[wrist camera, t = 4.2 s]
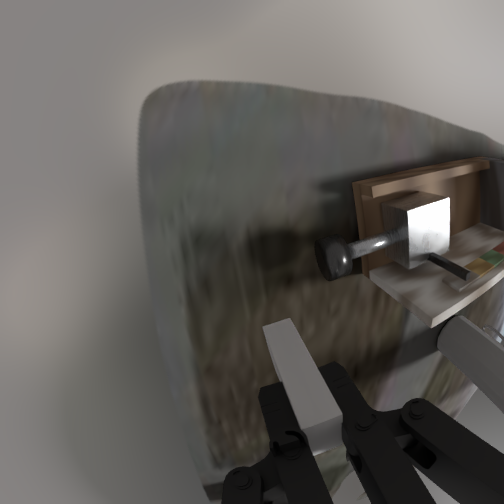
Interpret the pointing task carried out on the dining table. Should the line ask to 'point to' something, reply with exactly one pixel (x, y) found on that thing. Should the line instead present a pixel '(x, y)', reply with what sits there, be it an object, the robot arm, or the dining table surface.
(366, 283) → the dining table surface
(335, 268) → the silver block with knob
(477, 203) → the brown wooden box
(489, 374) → the water bottle
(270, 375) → the dining table surface
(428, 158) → the dining table surface
